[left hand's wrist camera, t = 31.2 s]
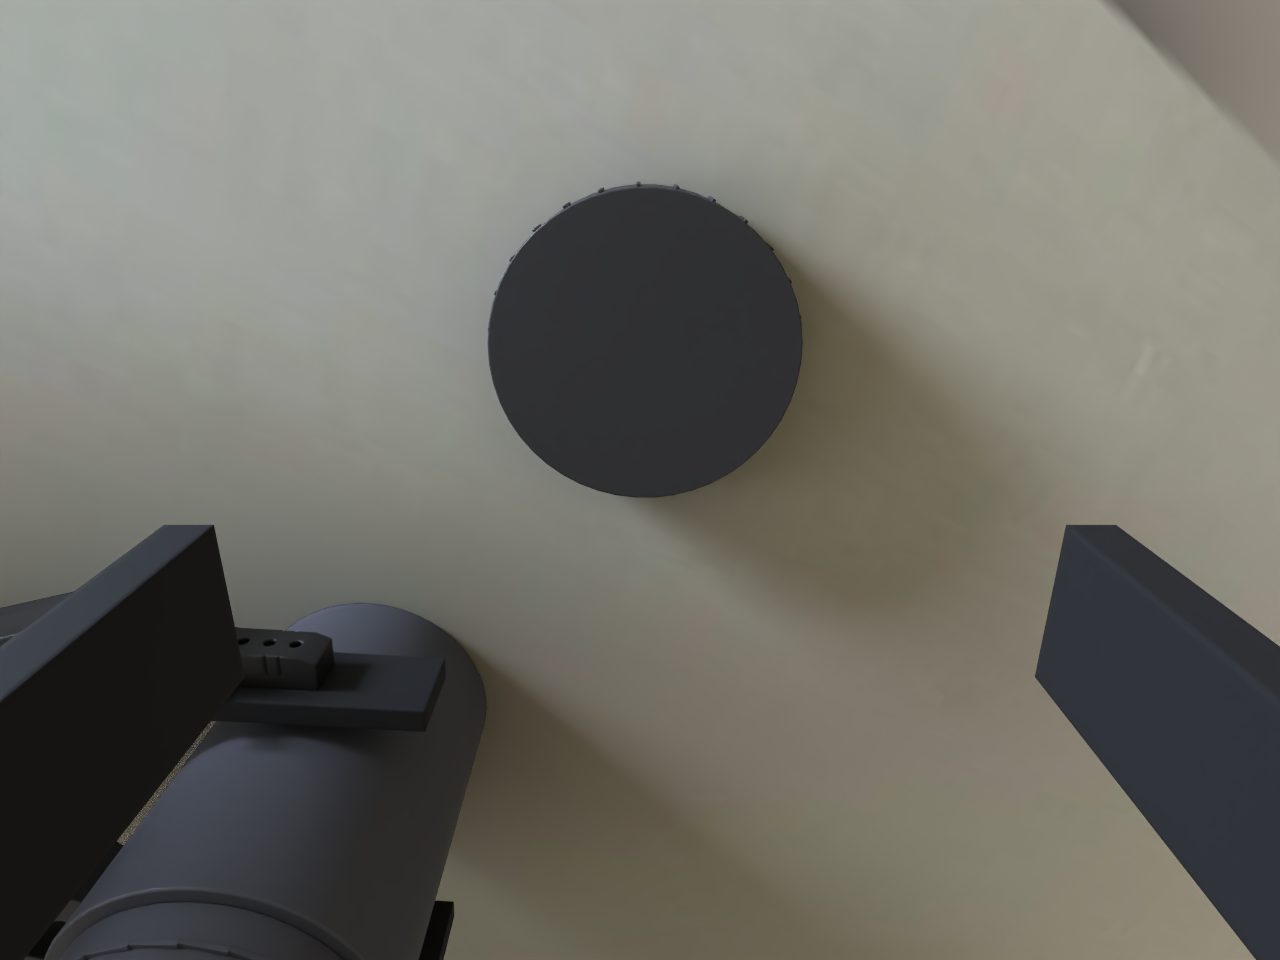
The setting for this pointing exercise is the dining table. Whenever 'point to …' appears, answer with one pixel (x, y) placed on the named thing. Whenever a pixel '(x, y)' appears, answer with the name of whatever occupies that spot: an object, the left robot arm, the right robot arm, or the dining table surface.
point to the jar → (297, 828)
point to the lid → (644, 341)
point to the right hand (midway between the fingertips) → (441, 826)
